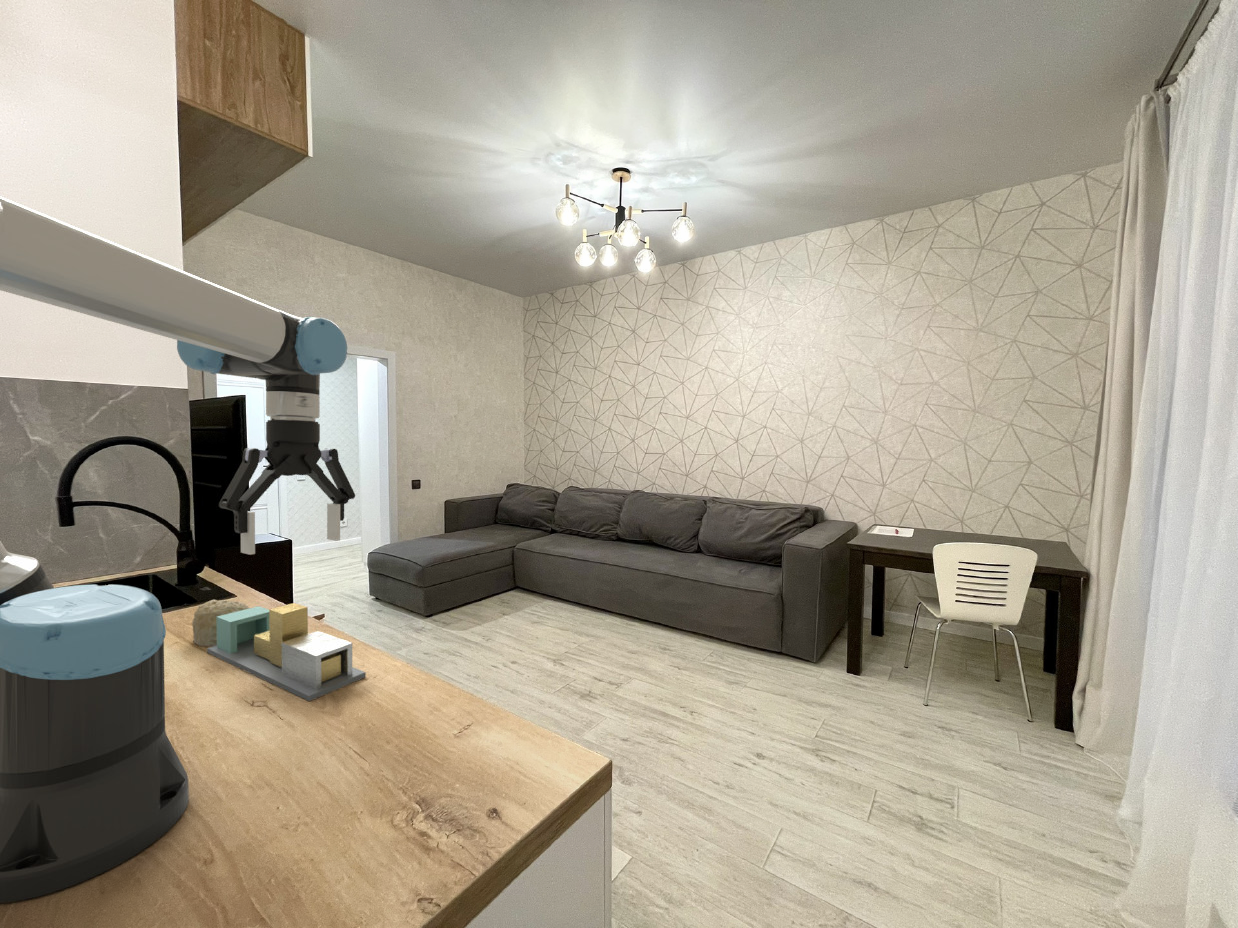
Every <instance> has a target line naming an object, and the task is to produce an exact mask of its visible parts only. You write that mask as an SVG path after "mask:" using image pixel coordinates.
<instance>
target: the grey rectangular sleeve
mask: <svg viewBox="0 0 1238 928" xmlns="http://www.w3.org/2000/svg"><path fill="white" fill-rule="evenodd" d="M333 653H337V654H340V655H341V674H343V675H345V676H350V675H352V667H353V642H351V641H348V640H345V639H342V638H339V637H336V636H334V635H331V634H329V633H325V632H322V631H319V630H317V631H314V632H311V633H308V634H307V635H304V636H301V637H297V638H294V639H291V640H288V641H285V642H282V674H283V675H285V676H287V677H289V678H291V679H294V680H296V681H298V682H300V683H302V684H305V685H307V686H309V687H311V688H313V689H319V688H321V658H323V657H325V656H328V655H331V654H333Z"/></svg>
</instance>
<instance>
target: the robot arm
mask: <svg viewBox="0 0 1238 928" xmlns="http://www.w3.org/2000/svg"><path fill="white" fill-rule="evenodd" d="M0 291H1V292H4V293H5V292H6V293H9V294H12V295H15V296H18V297H23V298H27V299H29V300H34V301H38V302H41V303H45V304H48V305H50V306H51V305H52V306H55V307H58V308H62V309H65V310H69V311H72V312H77V313H80V314H82V315H83V314H84V315H87V316H90V317H94V318H97V319H101V320H105V321H108V322H113V323H114V324H115V323H116V324H119V325H123V326H126V327H130V328H133V329H136V330H139V331H140V330H141V331H144V332H147V333H151V334H154V335H159V336H162V337H165V338H168V339H172V340H176V350H177V353H178V356H179V358H180V360H181V361H182V362H183V363H184V364H185V366H187V367H188V368H190V369H192V370H194V371H200V372H206V373H209V374H211V375H217V374H218V375H219V374H220V375H227V376H235V377H241V378H242V377H243V378H249V379H258V380H263V381H265V415H266V416H267V417H269V419H267V421H266V422H265V441H266V448H265V450H263V449H259V448H255V447H253V448H252V447H246V448H244V450H243V453H242V460H241V463H240V465H239V467H238V469H237V471H236V472H235V473H234V476H233V478H232V480H231V481H230V483H229V485H228V487H227V488H226V489H225V492H224V494H223V495H222V497H221V499H220V501H219V502H218V507H219V508H221V509H225V510H228V511H232V512H233V525H234V527H233V528H234V532H235V533H237V534H240V554H241V553H242V554H246V555H250V556H251V555H255V554H256V512H255V511H250V509H251V508H252V507H253V506H254V505H255V504H256V503H257V501H258V500H259V499H260V498H261V497H262V496H263V495H264V493H265V492H267V490H268V489H270V487H271V486H272V485H273V483H274V482H275V481H276V480H277V479H279V478H281V476H284V477H285V476H286V477H287V476H288V477H289V476H290V477H291V476H295V475H296V476H308V477H309V478H310V479H311V480H312V481H313V482H314V483H315V484H316V485H317V486H318V487H319V489H321V491H322V492H323V493H324V494H325V495H326V496H327V497H328V499H330V501H331V502H328V503H326V504H327V506H326V508H327V510H326V516H327V517H326V522H327V523H326V528H327V530H326V532H327V533H326V540H329V541H335V542H338V541H341V521H342V522H344V519H345V504H348V503H349V501H350V500H354V499H355V498H356V494H355V491H354V489H353V487H352V485H351V483H350V481H349V479H348V477H347V475H346V473H345V470H344V469H343V467H342V464H341V463H340V460H339V459H340V458H339V451H338V449H336V448H324V449H320V447H319V445H320V441H321V439H320V438H321V437H320V436H321V428H320V427H321V425H320V423H319V422H318V421H316V419H319V418H320V417H321V415H320V404H321V403H320V399H321V398H320V397H321V396H320V394H321V393H320V392H321V391H320V389H321V388H320V387H321V386H320V385H321V384H320V383H321V380H320V379H321V374H331V373H334V372H337V371H338V370H340V369H341V368H342V367H343V365H344V364H345V362H346V359H347V354H348V342H347V340H346V336H345V334H344V332H343V331H342V329H341V328H340V327H339V326H338V325H337V324H336V323H335V322H333V321H332V320H329V319H327V318H325V317H314V316H305V317H298V316H296V315H292V314H290V313H288V312H285V311H283V310H280V309H277V308H274V307H271V306H269V305H267V304H264V303H263V302H259V301H257V300H255V299H252V298H249V297H247V296H245V295H242V294H240V293H237V292H235V291H233V290H230V289H228V288H225V287H223V286H220V285H218V284H215V283H213V282H210V281H209V280H206V279H203V278H200V277H199V276H196V275H193V274H191V273H188V272H186V271H184V270H181V269H178V268H176V267H174V266H172V265H169V264H167V263H164V262H161V261H160V260H157V259H154V258H152V257H149V256H147V255H144V254H141V253H140V252H136V251H135V250H132V249H130V248H127V247H125V246H122V245H120V244H117V243H116V242H115V243H114V242H113V241H111V240H108V239H105V238H102V237H100V236H98V235H96V234H93V233H91V232H89V231H86V230H83V229H81V228H78V227H76V226H73V225H72V224H68V223H66V222H64V221H61V220H58V219H56V218H54V217H51V216H49V215H46V214H45V213H42V212H40V211H37V210H34V209H32V208H29V207H27V206H24V205H22V204H19V203H17V202H15V201H12V200H10V199H7V198H5V197H3V196H0ZM263 459H265V460H266V462H267V463H268V465H267V466H266V467H265V468H264V469H263V471H262V472H261V474H260V475H259V477H257V479H256V480H255V481H254V482H253V483H252V484H251V486H249V488H248V489H247V486H248V484H249V483H250V481H251V479H252V477H253V476H254V475H255V474H254V473H255V472H256V470H257V468H258V465H259V463H262V462H263ZM320 459H321V460H322V461H323V462H324V464H325V468H326V469H327V470H328V473H329V474H330V477H331V478H332V481H333V482H332V481H331V480H330V479H329V477H328V476H327V475H326V474H325V472H324V470H323V469H322V468H321V467H320V466H319V464H317V463H318V462H319V460H320ZM163 617H164V616H163V611H162V606H161V603H160V601H159V599H158V597H156V596H155V595H154V594H153V593H151V592H149V591H148V590H145V589H142V588H139V587H136V586H131V585H124V584H108V585H106V584H105V585H98V584H80V585H79V584H77V585H69V586H61V587H55V586H54V585H53V583H52V581H51V579H50V578H49V577H48V575H47V574H46V571H45V570H44V568H43V567H42V565H41V563H40V561H38V559H37V558H36V557H32V556H28V555H22V554H18V553H12V552H9V551H7V549H6V548H5V546H4V544H3V542H2V541H1V540H0V904H2V903H4V904H5V903H12V902H19V901H23V900H29V899H33V898H37V897H41V896H44V895H48V894H51V893H55V892H57V891H61V890H64V889H67V888H69V887H72V886H75V885H77V884H80V883H82V882H85V881H87V880H90V879H92V878H94V877H96V876H99V875H100V874H102V873H105V872H107V871H109V870H112V869H114V868H115V867H117V866H119V865H120V864H122V863H124V862H126V861H127V860H129V859H131V858H132V857H134V856H136V855H137V854H139V853H141V852H142V851H144V850H145V849H146V848H148V847H149V846H151V845H152V844H154V843H155V842H156V841H158V839H161V837H162V836H163V835H164V834H166V833H167V832H168V831H169V830H170V829H172V827H173V826H174V825H175V824H176V823H177V822H178V821H179V819H181V816H182V815H184V813H185V811H186V808H187V807H188V805H189V799H190V795H189V793H190V792H189V788H190V787H189V776H188V773H187V771H186V769H185V767H184V765H183V764H182V762H181V760H180V758H179V756H178V754H177V752H176V750H175V749H174V747H173V745H172V742H171V741H170V739H169V736H168V734H167V732H166V711H165V710H166V709H165V708H166V705H165V703H166V702H165V700H166V699H165V698H166V697H165V696H166V695H165V638H166V635H167V634H166V631H167V630H166V625H165V621H164V618H163Z"/></svg>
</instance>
